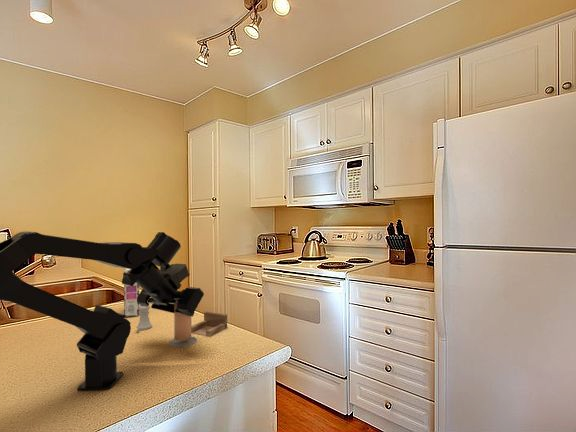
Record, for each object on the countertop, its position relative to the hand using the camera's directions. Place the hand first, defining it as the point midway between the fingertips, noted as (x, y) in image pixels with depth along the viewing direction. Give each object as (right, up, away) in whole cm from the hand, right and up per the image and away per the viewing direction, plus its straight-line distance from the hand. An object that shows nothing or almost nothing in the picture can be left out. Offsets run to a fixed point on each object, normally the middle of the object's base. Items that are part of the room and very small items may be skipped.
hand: (186, 313), depth 88 cm
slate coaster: (0, -8, -1) cm, 8 cm away
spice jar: (-1, -6, -1) cm, 6 cm away
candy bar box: (-29, -9, +30) cm, 43 cm away
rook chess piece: (-16, -9, +10) cm, 21 cm away
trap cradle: (+4, -8, +8) cm, 12 cm away
